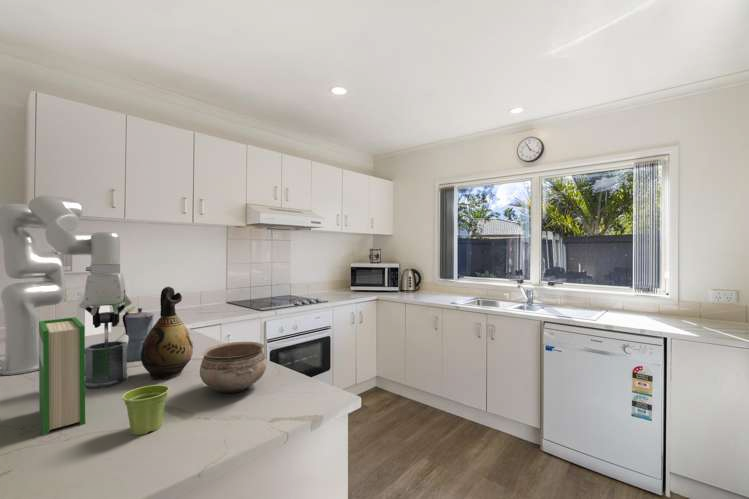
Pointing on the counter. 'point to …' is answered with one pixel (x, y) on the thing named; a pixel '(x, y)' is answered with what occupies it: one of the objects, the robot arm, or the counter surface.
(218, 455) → the counter surface
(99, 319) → the dark grey stemmed piece
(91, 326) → the milk
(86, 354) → the carafe
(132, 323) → the moka pot
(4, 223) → the robot arm
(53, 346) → the hardback book
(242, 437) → the counter surface
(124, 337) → the flower in vase
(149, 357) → the ceramic jug
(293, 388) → the counter surface
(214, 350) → the cooking pot
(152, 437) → the counter surface
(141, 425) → the plant pot
